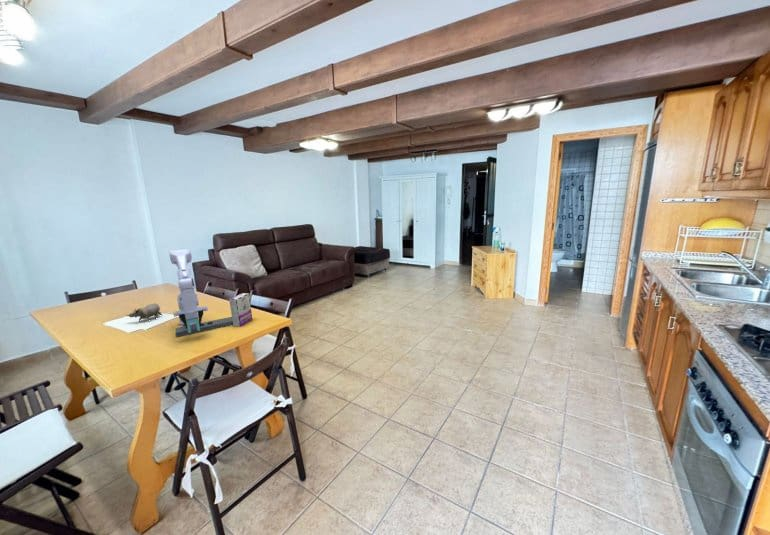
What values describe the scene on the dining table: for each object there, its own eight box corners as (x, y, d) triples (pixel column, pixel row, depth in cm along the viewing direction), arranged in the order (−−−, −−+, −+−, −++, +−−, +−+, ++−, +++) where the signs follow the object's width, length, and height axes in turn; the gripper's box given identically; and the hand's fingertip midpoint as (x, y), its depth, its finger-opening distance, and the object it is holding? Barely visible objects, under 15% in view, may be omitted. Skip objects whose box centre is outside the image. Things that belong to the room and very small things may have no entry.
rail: (175, 337, 155) (175, 332, 155) (176, 332, 162) (175, 327, 161) (235, 324, 170) (234, 320, 170) (233, 320, 177) (232, 316, 176)
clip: (188, 333, 151) (186, 321, 150) (188, 331, 153) (186, 319, 152) (200, 330, 154) (198, 318, 153) (200, 328, 156) (198, 317, 155)
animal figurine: (170, 312, 186) (149, 297, 177) (151, 330, 178) (128, 315, 169) (165, 311, 190) (145, 296, 182) (147, 328, 183) (124, 314, 174)
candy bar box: (245, 319, 179) (242, 292, 175) (252, 319, 178) (249, 293, 174) (232, 326, 168) (228, 298, 164) (240, 327, 167) (236, 299, 163)
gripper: (171, 306, 143) (176, 332, 146) (206, 300, 151) (210, 325, 154) (172, 302, 149) (176, 327, 152) (205, 297, 157) (209, 321, 159)
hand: (193, 326), depth 153 cm, fingers closed on clip, 5 cm apart
